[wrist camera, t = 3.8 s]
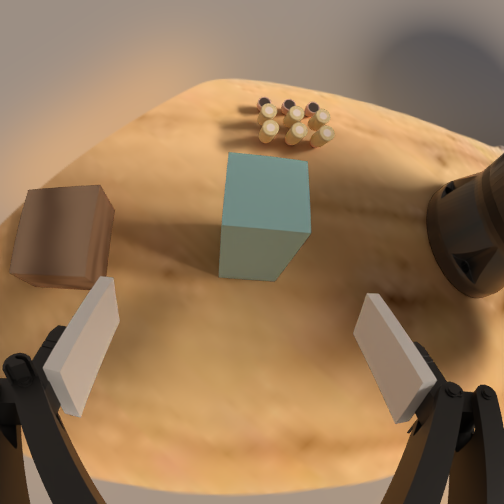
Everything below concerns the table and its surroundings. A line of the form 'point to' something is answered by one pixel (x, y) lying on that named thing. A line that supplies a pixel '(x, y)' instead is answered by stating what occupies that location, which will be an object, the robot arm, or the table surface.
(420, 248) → the table surface
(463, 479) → the robot arm
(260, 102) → the ammunition
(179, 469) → the table surface
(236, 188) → the teal block
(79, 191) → the walnut base
